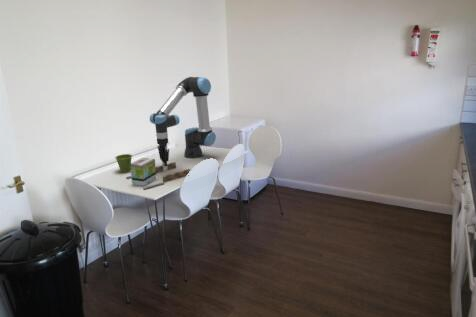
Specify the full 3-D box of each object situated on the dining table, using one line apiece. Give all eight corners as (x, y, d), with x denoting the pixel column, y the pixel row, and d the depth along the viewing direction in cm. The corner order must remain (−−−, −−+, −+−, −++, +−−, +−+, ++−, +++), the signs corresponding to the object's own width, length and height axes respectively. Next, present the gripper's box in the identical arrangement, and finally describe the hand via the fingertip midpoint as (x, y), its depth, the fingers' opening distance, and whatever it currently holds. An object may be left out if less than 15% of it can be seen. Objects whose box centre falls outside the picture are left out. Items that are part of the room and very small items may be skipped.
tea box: (144, 186, 230) (142, 165, 226) (131, 184, 233) (129, 163, 229) (157, 178, 244) (155, 158, 239) (144, 177, 247) (142, 157, 242)
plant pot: (124, 167, 267) (122, 153, 263) (137, 169, 262) (135, 155, 259) (113, 172, 256) (111, 158, 253) (126, 174, 252) (124, 159, 248)
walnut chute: (174, 167, 265) (174, 162, 264) (190, 174, 249) (190, 169, 248) (149, 173, 252) (148, 168, 251) (164, 182, 236) (164, 176, 235)
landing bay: (144, 173, 253) (144, 172, 253) (164, 184, 233) (163, 183, 233) (126, 178, 245) (126, 177, 244) (144, 190, 224) (144, 188, 224)
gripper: (152, 137, 243) (156, 169, 250) (162, 140, 233) (165, 173, 241) (162, 135, 247) (165, 166, 255) (171, 138, 238) (174, 171, 245)
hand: (165, 170), depth 248 cm, fingers closed
